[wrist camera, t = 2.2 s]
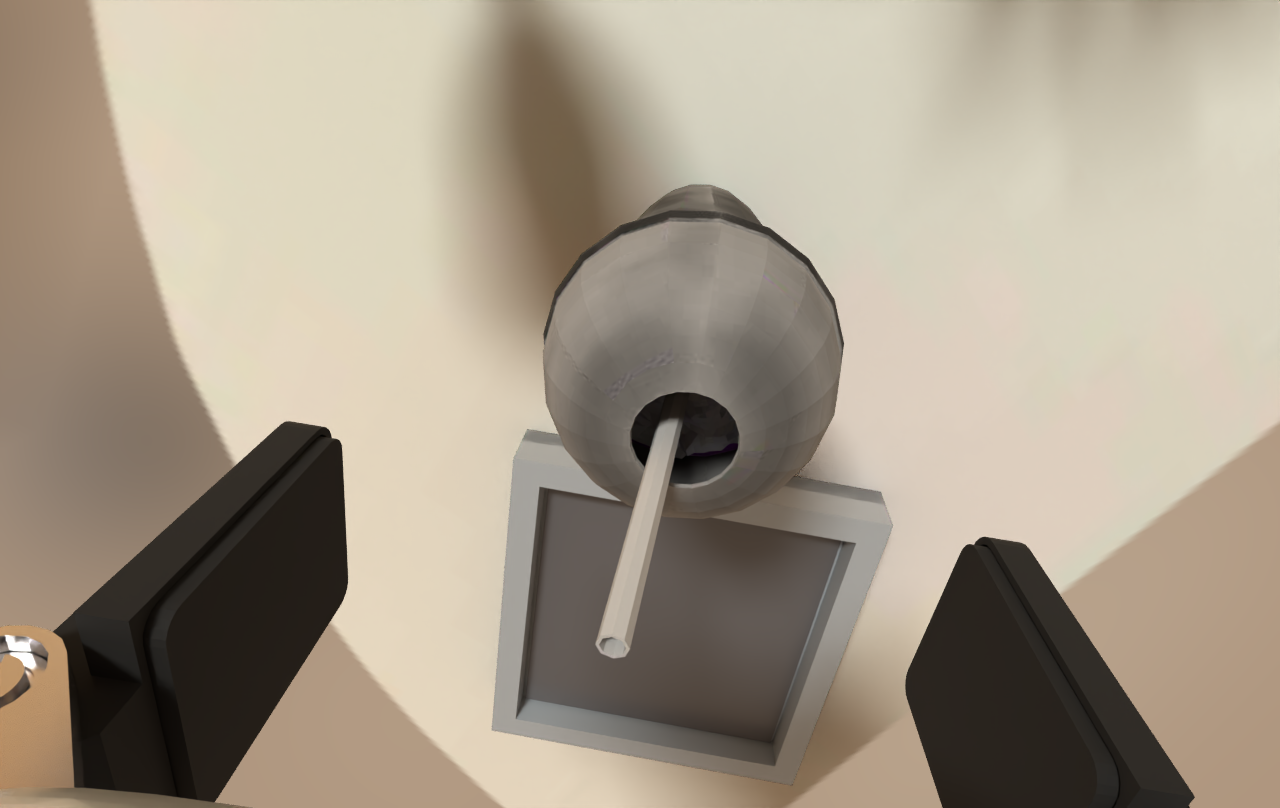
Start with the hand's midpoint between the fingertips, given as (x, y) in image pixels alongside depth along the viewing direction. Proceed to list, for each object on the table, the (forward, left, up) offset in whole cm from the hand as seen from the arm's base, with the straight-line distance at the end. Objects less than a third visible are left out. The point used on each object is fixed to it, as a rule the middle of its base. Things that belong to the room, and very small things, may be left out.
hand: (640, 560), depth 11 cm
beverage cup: (-1, 0, -19) cm, 19 cm away
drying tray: (-3, +18, -19) cm, 26 cm away
